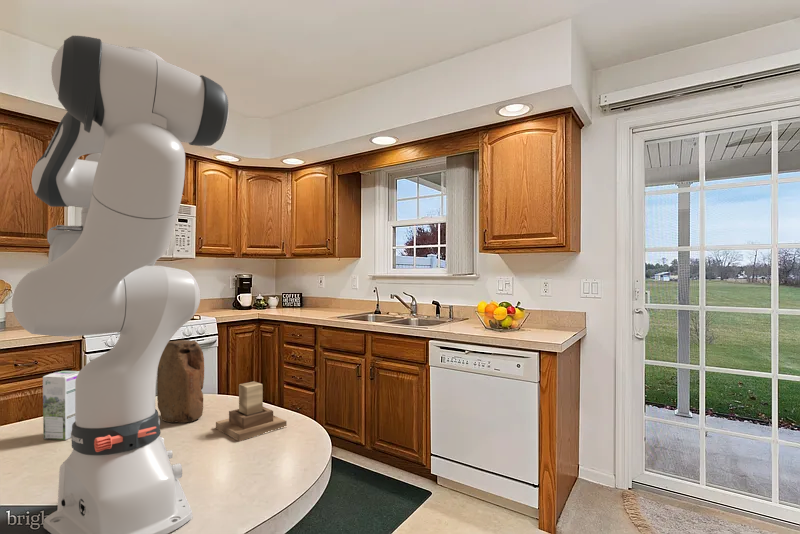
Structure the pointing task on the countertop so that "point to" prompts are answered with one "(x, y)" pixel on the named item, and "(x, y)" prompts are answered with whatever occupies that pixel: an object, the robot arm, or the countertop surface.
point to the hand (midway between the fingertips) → (105, 288)
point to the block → (180, 382)
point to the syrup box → (59, 404)
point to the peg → (250, 398)
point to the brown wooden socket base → (249, 424)
